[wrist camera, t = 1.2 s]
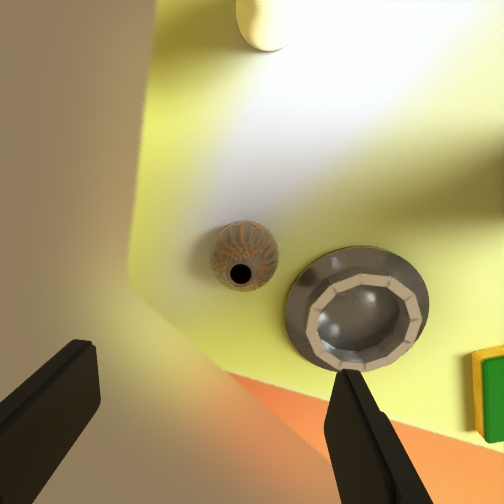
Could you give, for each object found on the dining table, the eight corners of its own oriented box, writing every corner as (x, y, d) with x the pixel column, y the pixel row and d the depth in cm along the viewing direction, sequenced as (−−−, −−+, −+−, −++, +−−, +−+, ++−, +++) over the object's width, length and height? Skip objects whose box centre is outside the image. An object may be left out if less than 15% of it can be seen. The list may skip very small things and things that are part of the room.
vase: (220, 275, 30) (205, 313, 22) (213, 218, 28) (193, 237, 20) (277, 271, 30) (284, 309, 21) (274, 213, 28) (280, 230, 19)
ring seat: (444, 254, 28) (464, 263, 26) (402, 374, 33) (416, 393, 30) (295, 238, 28) (299, 245, 26) (276, 361, 33) (277, 378, 31)
